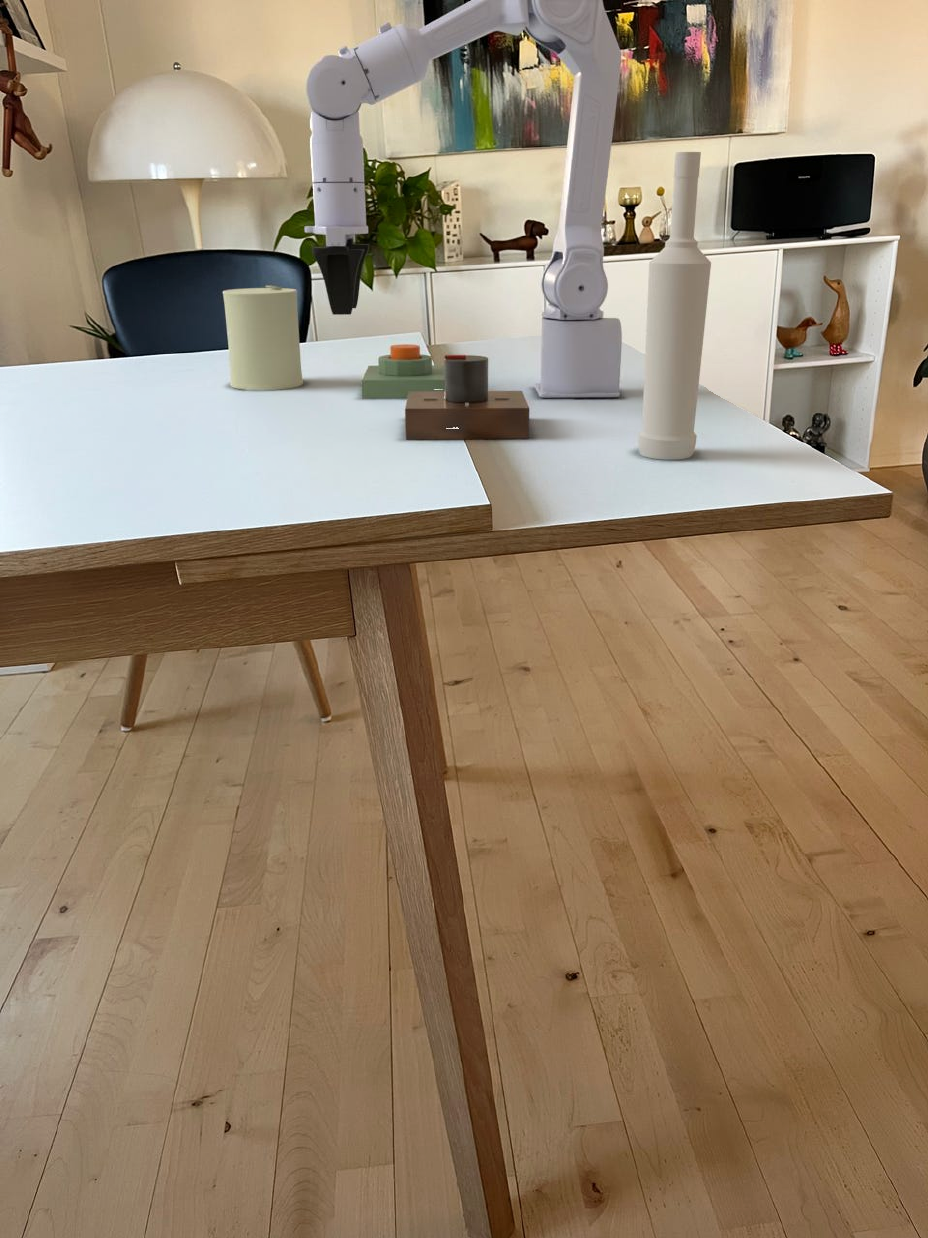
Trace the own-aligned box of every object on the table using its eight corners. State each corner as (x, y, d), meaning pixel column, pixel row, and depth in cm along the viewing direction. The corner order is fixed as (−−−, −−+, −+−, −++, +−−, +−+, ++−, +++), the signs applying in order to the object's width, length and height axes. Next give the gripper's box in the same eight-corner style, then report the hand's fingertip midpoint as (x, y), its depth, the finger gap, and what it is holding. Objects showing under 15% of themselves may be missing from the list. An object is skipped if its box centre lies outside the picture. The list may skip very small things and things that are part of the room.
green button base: (446, 382, 131) (446, 350, 129) (446, 398, 119) (446, 363, 118) (369, 382, 130) (367, 351, 129) (362, 398, 119) (360, 364, 118)
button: (420, 358, 125) (420, 344, 125) (419, 362, 122) (419, 347, 121) (391, 358, 125) (390, 344, 125) (389, 362, 122) (389, 347, 121)
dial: (487, 394, 104) (487, 351, 102) (488, 402, 100) (489, 357, 98) (444, 395, 104) (444, 352, 102) (444, 402, 100) (444, 358, 98)
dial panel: (521, 418, 108) (522, 388, 106) (528, 438, 98) (529, 406, 97) (409, 419, 107) (408, 389, 106) (405, 439, 98) (404, 406, 97)
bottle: (683, 462, 89) (707, 149, 79) (628, 456, 91) (646, 151, 82) (703, 451, 93) (729, 152, 83) (650, 445, 95) (669, 154, 86)
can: (317, 381, 131) (311, 284, 127) (276, 392, 124) (269, 289, 119) (258, 377, 135) (251, 282, 130) (215, 387, 127) (206, 287, 123)
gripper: (310, 184, 118) (317, 305, 123) (293, 181, 105) (302, 317, 110) (370, 184, 118) (374, 305, 124) (361, 181, 105) (367, 316, 110)
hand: (344, 311), depth 117 cm, fingers open, 7 cm apart
